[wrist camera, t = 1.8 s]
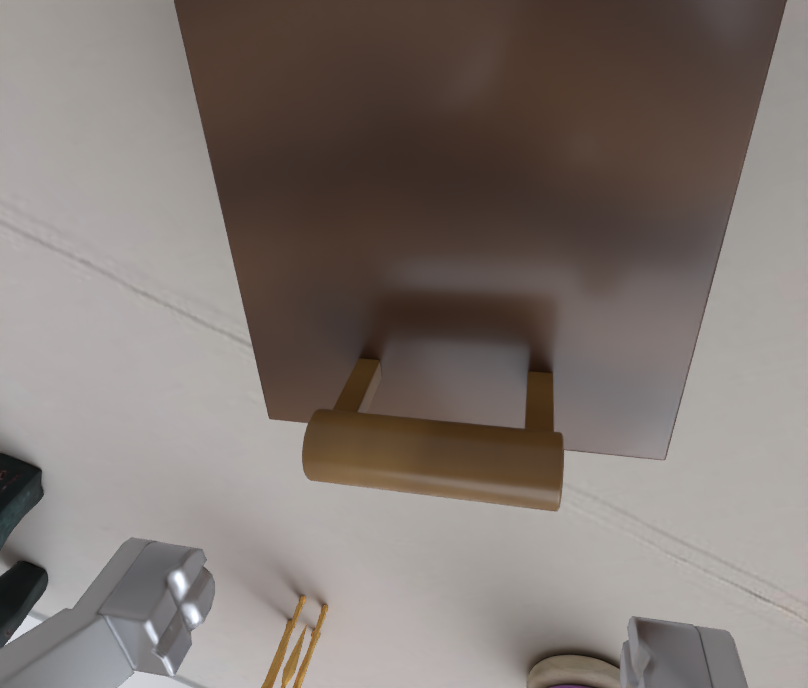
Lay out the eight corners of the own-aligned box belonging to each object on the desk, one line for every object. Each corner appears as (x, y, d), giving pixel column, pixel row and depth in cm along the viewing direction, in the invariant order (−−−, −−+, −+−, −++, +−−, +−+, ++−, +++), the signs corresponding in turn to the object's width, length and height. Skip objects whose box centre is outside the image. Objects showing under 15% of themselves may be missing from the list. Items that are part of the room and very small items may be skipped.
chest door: (661, 443, 17) (699, 595, 13) (277, 405, 20) (202, 521, 15) (844, -280, 9) (1112, -519, 5) (151, -183, 12) (-80, -283, 7)
